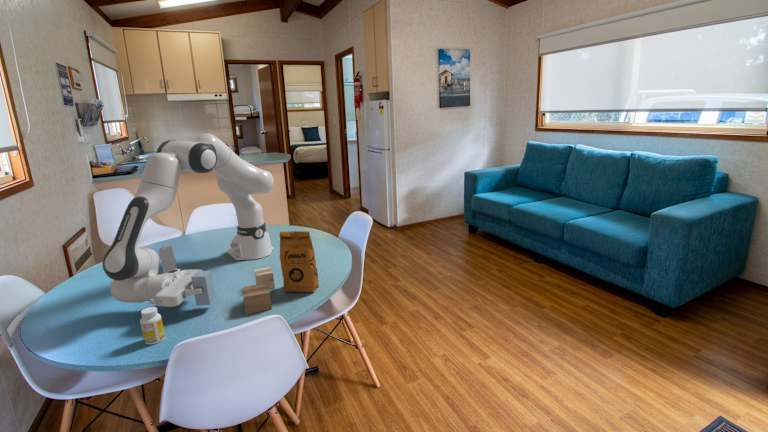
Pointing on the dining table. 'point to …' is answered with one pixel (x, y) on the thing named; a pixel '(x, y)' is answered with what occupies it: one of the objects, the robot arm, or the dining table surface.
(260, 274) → the birch block
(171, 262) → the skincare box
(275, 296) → the dining table surface
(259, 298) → the walnut block
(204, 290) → the slate block
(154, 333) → the supplement bottle
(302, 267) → the coffee package
